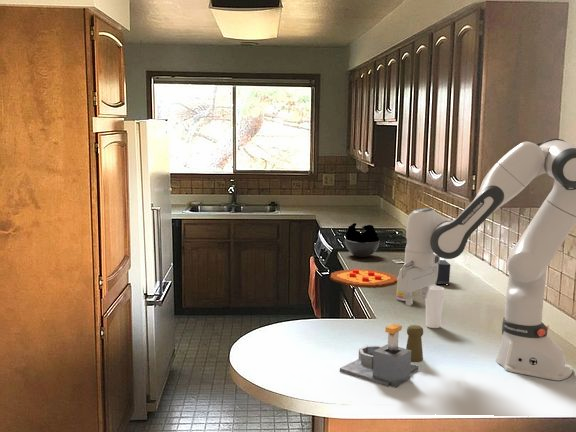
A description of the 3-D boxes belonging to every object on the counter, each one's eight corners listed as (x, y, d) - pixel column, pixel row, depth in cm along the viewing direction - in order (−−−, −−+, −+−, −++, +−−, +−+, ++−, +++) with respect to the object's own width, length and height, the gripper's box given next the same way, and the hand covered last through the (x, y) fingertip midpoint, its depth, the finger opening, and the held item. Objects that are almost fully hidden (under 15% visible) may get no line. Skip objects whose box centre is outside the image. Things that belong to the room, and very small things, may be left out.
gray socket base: (424, 371, 193) (425, 342, 192) (394, 388, 179) (395, 358, 178) (370, 355, 205) (371, 328, 204) (338, 370, 191) (339, 342, 190)
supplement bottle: (395, 300, 271) (397, 271, 269) (396, 296, 277) (398, 268, 276) (411, 302, 269) (412, 272, 268) (412, 298, 276) (413, 269, 274)
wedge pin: (400, 356, 185) (402, 325, 184) (392, 360, 182) (394, 329, 180) (392, 353, 187) (393, 323, 186) (383, 358, 184) (385, 327, 182)
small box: (450, 285, 299) (451, 264, 298) (436, 285, 299) (437, 264, 298) (444, 280, 310) (445, 259, 308) (431, 280, 310) (432, 259, 308)
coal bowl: (384, 260, 354) (385, 227, 351) (350, 260, 350) (351, 227, 347) (372, 252, 373) (373, 221, 371) (339, 253, 369) (340, 222, 366)
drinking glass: (427, 322, 241) (429, 284, 239) (444, 325, 238) (446, 287, 236) (421, 327, 235) (423, 288, 233) (438, 330, 232) (441, 291, 230)
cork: (409, 354, 207) (411, 321, 206) (426, 358, 203) (428, 325, 202) (400, 359, 203) (402, 326, 201) (417, 363, 199) (419, 330, 197)
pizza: (394, 273, 323) (394, 267, 323) (398, 289, 292) (398, 282, 291) (332, 270, 326) (332, 265, 326) (329, 286, 295) (329, 279, 294)
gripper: (411, 266, 188) (409, 310, 190) (442, 256, 204) (439, 297, 206) (393, 262, 192) (390, 306, 194) (424, 253, 208) (422, 293, 210)
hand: (416, 301), depth 200 cm, fingers open, 8 cm apart
